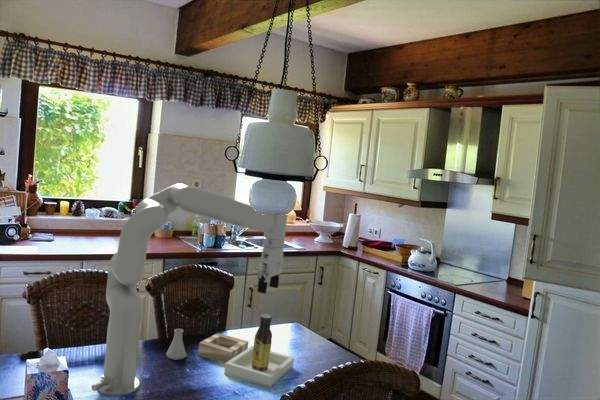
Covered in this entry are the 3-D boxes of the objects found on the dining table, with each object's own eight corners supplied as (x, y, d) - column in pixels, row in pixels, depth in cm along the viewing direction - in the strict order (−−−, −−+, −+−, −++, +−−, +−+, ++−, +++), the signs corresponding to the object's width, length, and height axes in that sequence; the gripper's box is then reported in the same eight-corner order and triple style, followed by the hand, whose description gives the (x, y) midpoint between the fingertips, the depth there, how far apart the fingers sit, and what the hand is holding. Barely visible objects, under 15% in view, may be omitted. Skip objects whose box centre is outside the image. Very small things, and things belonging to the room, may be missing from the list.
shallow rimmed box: (230, 365, 183) (231, 352, 183) (198, 355, 188) (199, 342, 188) (247, 353, 195) (248, 341, 195) (216, 344, 200) (217, 332, 200)
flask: (174, 362, 181) (177, 335, 180) (162, 355, 185) (164, 329, 184) (190, 357, 186) (192, 331, 185) (177, 350, 191) (180, 325, 190)
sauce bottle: (249, 364, 184) (255, 312, 182) (266, 364, 185) (272, 312, 184) (253, 372, 177) (259, 318, 176) (270, 372, 179) (276, 318, 177)
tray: (269, 388, 169) (271, 377, 168) (224, 374, 176) (225, 363, 175) (292, 368, 187) (294, 357, 187) (250, 355, 194) (252, 345, 194)
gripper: (272, 247, 168) (266, 297, 169) (292, 242, 184) (287, 287, 185) (252, 243, 171) (247, 292, 172) (274, 238, 187) (269, 283, 188)
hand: (267, 289), depth 179 cm, fingers open, 9 cm apart
